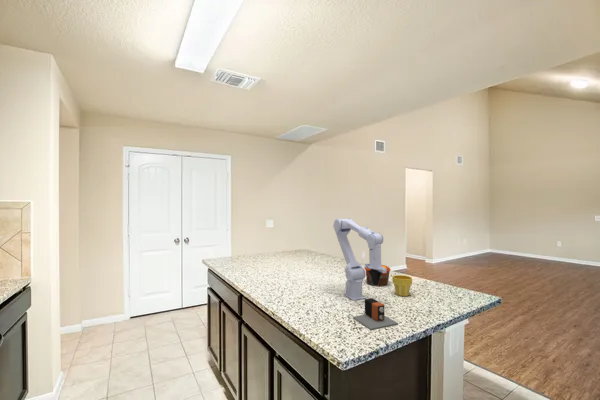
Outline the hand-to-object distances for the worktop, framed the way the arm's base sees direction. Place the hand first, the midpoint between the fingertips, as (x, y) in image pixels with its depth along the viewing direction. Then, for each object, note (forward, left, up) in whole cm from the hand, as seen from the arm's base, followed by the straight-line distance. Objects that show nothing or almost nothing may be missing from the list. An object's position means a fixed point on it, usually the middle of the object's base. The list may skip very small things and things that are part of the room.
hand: (375, 284), depth 142 cm
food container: (-32, +26, -11) cm, 42 cm away
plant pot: (-9, +25, -11) cm, 28 cm away
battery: (+7, -10, -6) cm, 14 cm away
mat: (+15, -12, -10) cm, 22 cm away
